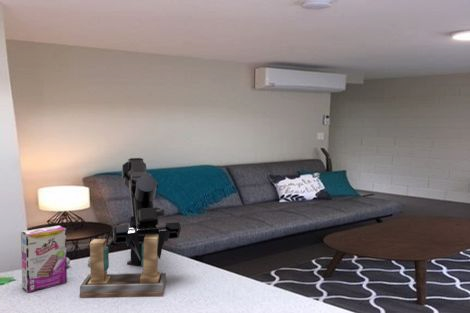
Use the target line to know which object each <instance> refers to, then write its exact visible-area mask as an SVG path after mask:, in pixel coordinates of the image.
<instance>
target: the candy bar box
mask: <svg viewBox="0 0 470 313" xmlns="http://www.w3.org/2000/svg"><path fill="white" fill-rule="evenodd" d="M20 245H21V246H20V248H21V250H20V252H21V253H20V255H21V257H20V258H21V285H22V286H21V288H22V289H23V290H25V291H26V293H32V292H35V291H40V290H43V289H47V288H51V287H54V286H59V285H63V284H66V283H67V282H68V272H67V270H68V268H67V267H68V266H67V258H68V257H67V228H65V227H63V226H62V225H54V226H46V227H42V228H35V229H27V230H22V231H20Z"/></svg>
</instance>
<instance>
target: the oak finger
mask: <svg viewBox="0 0 470 313" xmlns="http://www.w3.org/2000/svg"><path fill="white" fill-rule="evenodd" d="M158 237H159V236H158V234H156V235H146V236H145V238H144V242H143V244H142V261H141V266H140V267H143V271H142V272H141V273H142V275H141V277H140V284H157V283H159V281H160V273H161V271H158V267H159V266H158V265H159V258H158Z"/></svg>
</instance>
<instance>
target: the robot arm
mask: <svg viewBox="0 0 470 313" xmlns="http://www.w3.org/2000/svg"><path fill="white" fill-rule="evenodd" d="M121 178H122V179H123V181H124V185H125V186H126V187H127V188H128V189H129V196H130V197H129V198H130V205H131V217H130V219H129V223H128V224H129V225H128V224H121V225H119V224H118V225H115V226H114V227H113V233H112V234H113V237H112V238H113V244H126V245H127V247H128V248H130V260H129V261H126V264H127V265H133V266H140V267H142V266H141V261H142V244H143V242H144V238H145V236H146V235H158V260H159V259H161V256H162V250H163V246H164V244H165V242H168V241H169V240H172V239H173V240H174V239H178V238H179V237H180V233H181V230H182V226H181V223H180V222H179V221H177V220H175V221H166V222H165V226H158V224H159V218H164V216H165V208H164V205H163V204H162V205H156V206H155V203H154V199H155V197H156V191H157V189H158V188H159V183H158V182H157V180H156V178H154V177H153V176H152V174H151V173H149V172H147V164H146V163H145V162H144V158H141V157H130V158H128V159H127V161H126V162H125V163H124V164H122V167H121Z"/></svg>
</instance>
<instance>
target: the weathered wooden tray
mask: <svg viewBox="0 0 470 313" xmlns="http://www.w3.org/2000/svg"><path fill="white" fill-rule="evenodd" d="M91 241H92V242H91ZM91 241H90V242H91V243H89V244H90V245H89V258H90V267H89V268H90V273H88V275H87V276H86V277H85V279H84V280H83V282H82V283H81V284H80V285H79V299H91V298H93V299H96V298H100V299H101V298H134V297H135V298H140V297H141V298H144V297H145V298H146V297H148V298H149V297H163V296H164V292H165V288H166V283H167V278H166V277H167V273H166V272H160V281H159V283H157V284H140V277H141V275H142V272H141V273H140V272H139V273H137V272H136V273H131V272H130V273H108V269H109V267H110V264H109V262H110V261H109V260H110V258H109V256H110V255H109V254H110V253H109V246H107V238H94V239H92V240H91Z"/></svg>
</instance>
